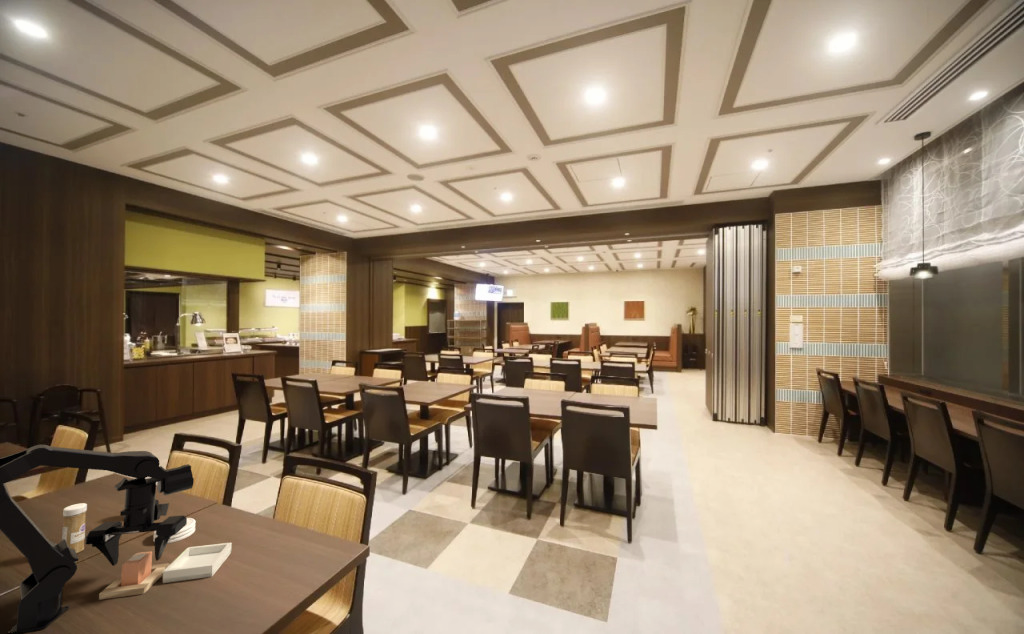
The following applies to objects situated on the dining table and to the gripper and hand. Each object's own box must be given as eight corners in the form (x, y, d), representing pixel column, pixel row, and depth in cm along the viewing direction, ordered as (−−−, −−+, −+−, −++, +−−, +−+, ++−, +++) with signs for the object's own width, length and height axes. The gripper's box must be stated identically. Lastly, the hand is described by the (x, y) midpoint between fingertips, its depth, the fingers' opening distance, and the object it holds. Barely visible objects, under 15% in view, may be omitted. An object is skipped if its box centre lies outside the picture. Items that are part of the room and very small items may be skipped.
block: (137, 588, 95) (139, 561, 95) (120, 591, 94) (122, 563, 94) (150, 576, 100) (152, 549, 100) (134, 578, 99) (136, 551, 99)
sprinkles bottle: (80, 554, 108) (83, 507, 109) (57, 559, 106) (60, 511, 106) (87, 546, 112) (89, 501, 113) (64, 550, 110) (67, 504, 110)
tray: (211, 576, 100) (212, 565, 100) (162, 583, 97) (163, 571, 97) (231, 552, 110) (231, 542, 110) (187, 557, 107) (187, 547, 108)
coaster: (201, 532, 121) (202, 521, 121) (162, 548, 112) (163, 536, 112) (185, 525, 125) (185, 514, 125) (146, 539, 116) (147, 528, 116)
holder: (143, 593, 93) (144, 587, 93) (99, 599, 91) (99, 593, 91) (169, 568, 103) (169, 563, 103) (129, 573, 100) (129, 567, 100)
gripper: (199, 485, 107) (196, 540, 107) (119, 491, 103) (116, 549, 102) (175, 503, 97) (172, 564, 96) (85, 510, 92) (81, 575, 91)
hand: (136, 562), depth 97 cm, fingers open, 9 cm apart
